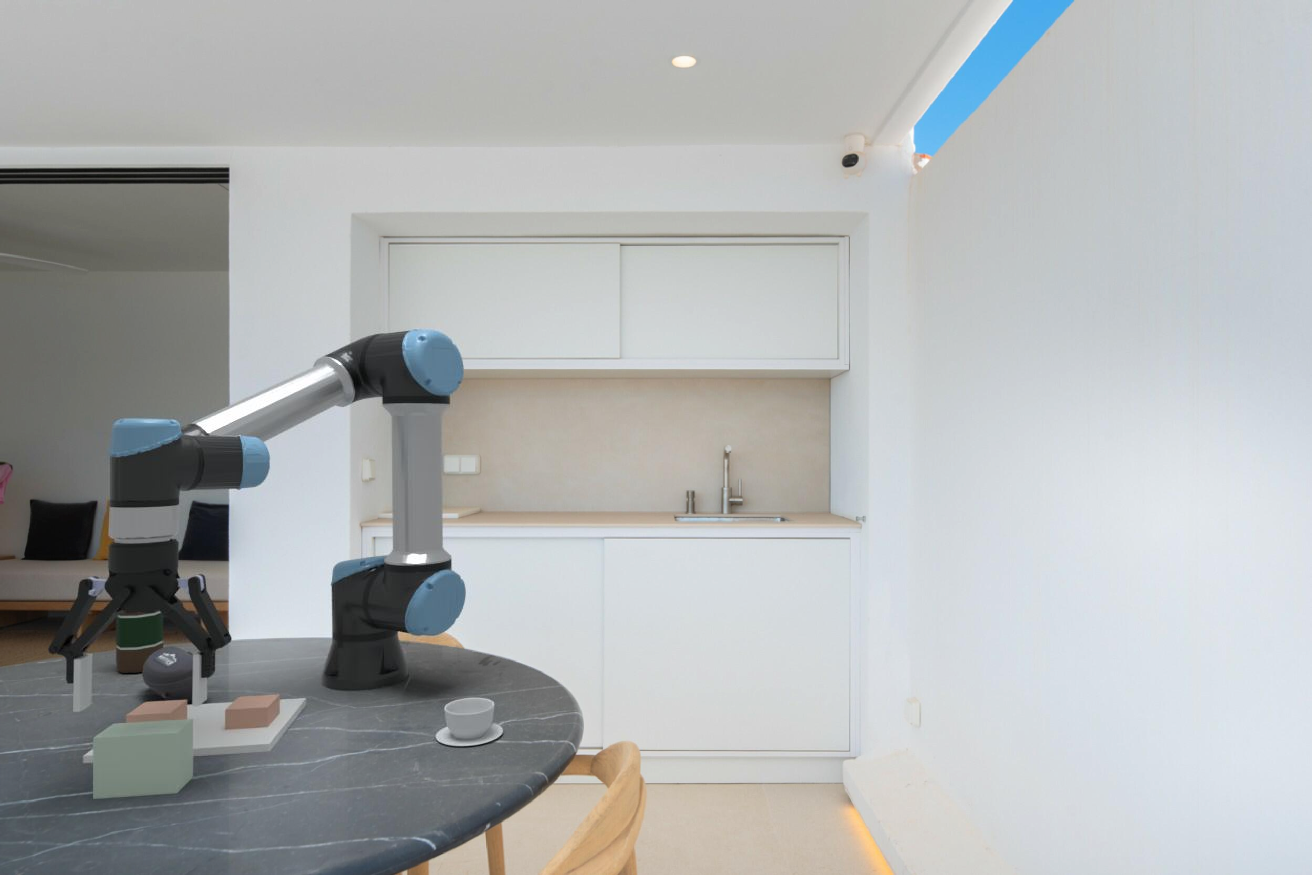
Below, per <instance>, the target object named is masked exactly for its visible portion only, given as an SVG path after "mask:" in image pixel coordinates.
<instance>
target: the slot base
mask: <svg viewBox="0 0 1312 875" xmlns="http://www.w3.org/2000/svg"><path fill="white" fill-rule="evenodd" d="M280 698H281V695H280V694H279V693H278V694H265V695H264V694H263V695H262V694H261V695H248V696H247V695H246V696H245V695H244V696H239V697H237V698H236V699H235V700H233V701H231V702H229V701H227V702H215V703H213V702H211V703H202V704H201V705H199V706H192V704H187V700H171V701H166V700H158V701H157V700H155V701H145V702H143V703H141V704H140V705H139V706H137V707H136V708H135V709H133V710H131V711H130V712H129V713H127V714H126V715H125V723H133V722H149V721H166V720H183V719H193V757H203V756H205V757H206V756H221V755H233V754H234V755H238V754H240V755H241V754H255V753H269V752H271V751H272V749H273V748H274V747H275V746H276V744H277V743H278V742H279V740H280V739H281V738H283V735H285V733H286V732H287V730H288V729H289V728H291V725H292V724H293V723H294V722H295V720H296V719H297V718H298V717H299V715H300V714H301V713H302V711H303V710H304V709H305V707H307V698H306V697H302V698H301V697H299V698H285V699H284V698H282V699H280ZM82 764H93V748H91V750H89V751H88V752H86V753H85V754H84V755H82Z"/></svg>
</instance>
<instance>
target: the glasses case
mask: <svg viewBox="0 0 1312 875" xmlns="http://www.w3.org/2000/svg"><path fill="white" fill-rule="evenodd" d="M193 655H194V654H193V652H191V651H186V650H184V649H181V648H179V647H177V646H172V645H171V646H170V645H169V646H165V647H164V646H163V648H162V649H159V650H157V651H155V652H154V653H152V654H151V655H150V656H149V657H148V658H147V660H146V661H145V663H144V666H143V671H142V672H141V676H142V679H143V682H144V684H145V685H146V686H148V688H149V689H151V690H153V692H154V693H155V694H156V695H158V696H159V697H160V698H162V699H163V701H171V700H187V705H189V704H190V703H191V704H192V692H193ZM208 679H209V678H207V681H208Z"/></svg>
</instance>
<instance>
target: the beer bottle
mask: <svg viewBox="0 0 1312 875" xmlns="http://www.w3.org/2000/svg"><path fill="white" fill-rule="evenodd" d="M162 648H164V615H163V614H162V613H161V612H160V611H159V610H158V611H156V612H154V613H144V612H136V613H133V614H126V612H124V611H123V612H122V613H120V614H119V615H118V616H117V617H116V618H115V654H116V655H115V660H116V661H115V662H116V670H117V671H119V672H121V673H122V674H127V673H128V674H129V673H135V674H137V673H142V672H143V666H144V663H145V661H146V660H147V658H148V657H149V656H150V655H151V654H152V653H154V652H155V651H157V650H159V649H162Z"/></svg>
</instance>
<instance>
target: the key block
mask: <svg viewBox="0 0 1312 875" xmlns="http://www.w3.org/2000/svg"><path fill="white" fill-rule="evenodd" d="M92 749H93V763H92V781H93V782H92V784H93V785H92V794H93V795H92V799H93V800H96V799H97V800H98V799H101V800H102V799H111V798H112V799H113V798H127V797H129V798H130V797H141V796H143V797H144V796H156V795H157V796H158V795H171V794H178V793H179V792H180V791H181V790H182V789H183V788H184V787H185V786H186V784H188V783H189V782H190V781H191V780H192V779H193V777H194V756H193V719H183V720H166V721H149V722H133V723H126V722H120V723H112V724H111V725H109V726H108V727H107V728H105V729H104V730H102V731H101V732H99V733H98V734H96V735H95V736H94V737H93V738H92Z"/></svg>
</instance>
